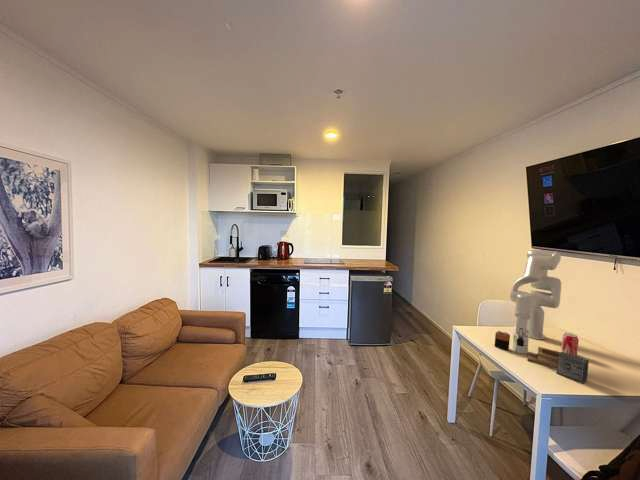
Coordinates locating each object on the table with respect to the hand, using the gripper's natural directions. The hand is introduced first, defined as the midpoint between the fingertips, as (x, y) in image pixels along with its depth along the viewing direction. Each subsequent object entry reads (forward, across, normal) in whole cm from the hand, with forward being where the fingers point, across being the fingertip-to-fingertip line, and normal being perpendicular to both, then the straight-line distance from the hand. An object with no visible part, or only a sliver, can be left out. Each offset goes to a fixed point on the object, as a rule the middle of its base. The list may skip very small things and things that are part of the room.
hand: (520, 343), depth 163 cm
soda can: (+5, -16, +23) cm, 28 cm away
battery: (+5, +2, -9) cm, 11 cm away
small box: (+5, +16, +22) cm, 28 cm away
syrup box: (+5, 0, 0) cm, 5 cm away
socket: (+5, +6, +14) cm, 16 cm away
